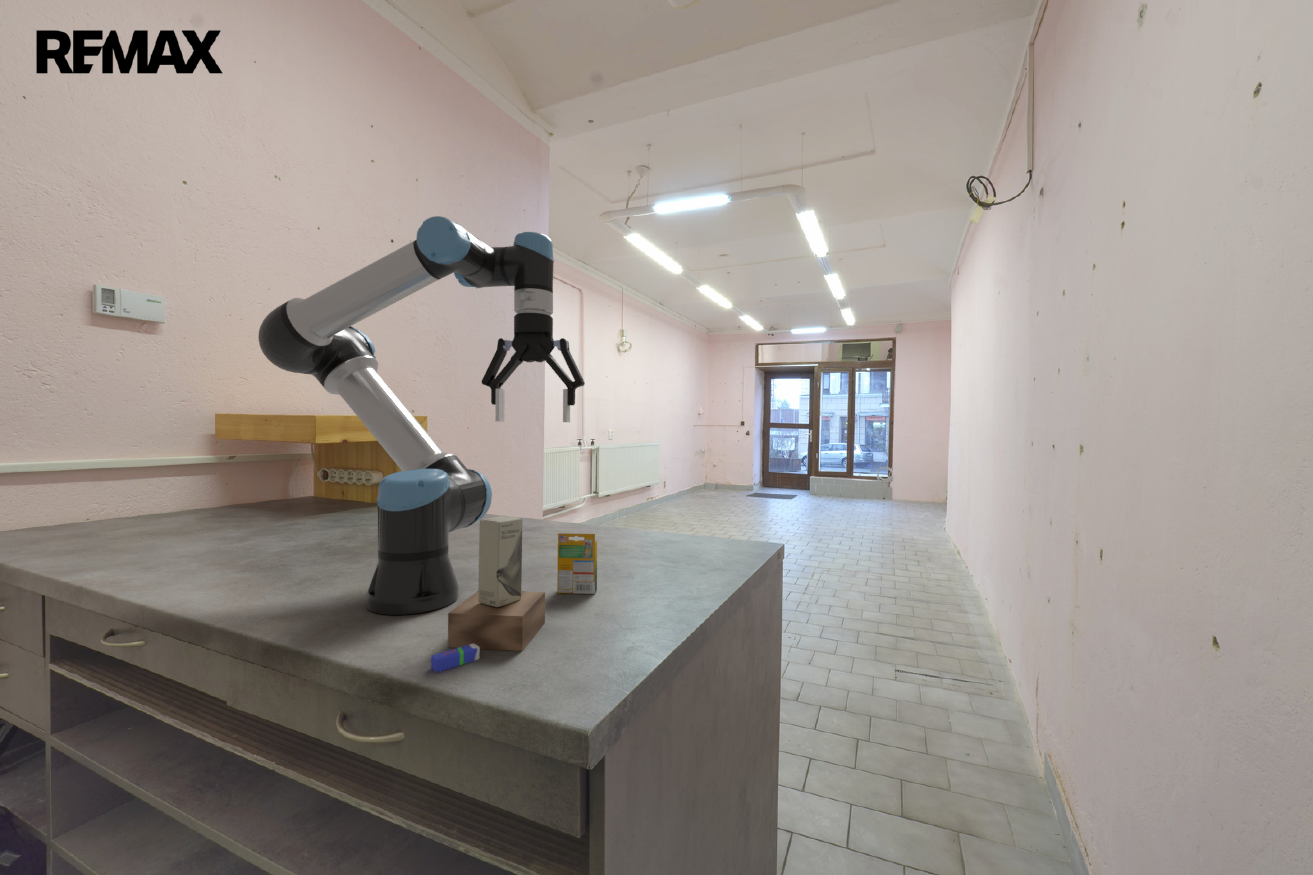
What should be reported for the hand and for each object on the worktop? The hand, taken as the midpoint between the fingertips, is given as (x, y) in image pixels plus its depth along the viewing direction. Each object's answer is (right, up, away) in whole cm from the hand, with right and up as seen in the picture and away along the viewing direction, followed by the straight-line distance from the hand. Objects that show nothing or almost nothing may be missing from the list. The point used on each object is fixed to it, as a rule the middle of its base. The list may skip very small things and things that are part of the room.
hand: (533, 422), depth 107 cm
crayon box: (+9, -33, -3) cm, 35 cm away
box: (+1, -29, -24) cm, 37 cm away
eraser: (-2, -34, -34) cm, 48 cm away
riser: (0, -33, -24) cm, 41 cm away
